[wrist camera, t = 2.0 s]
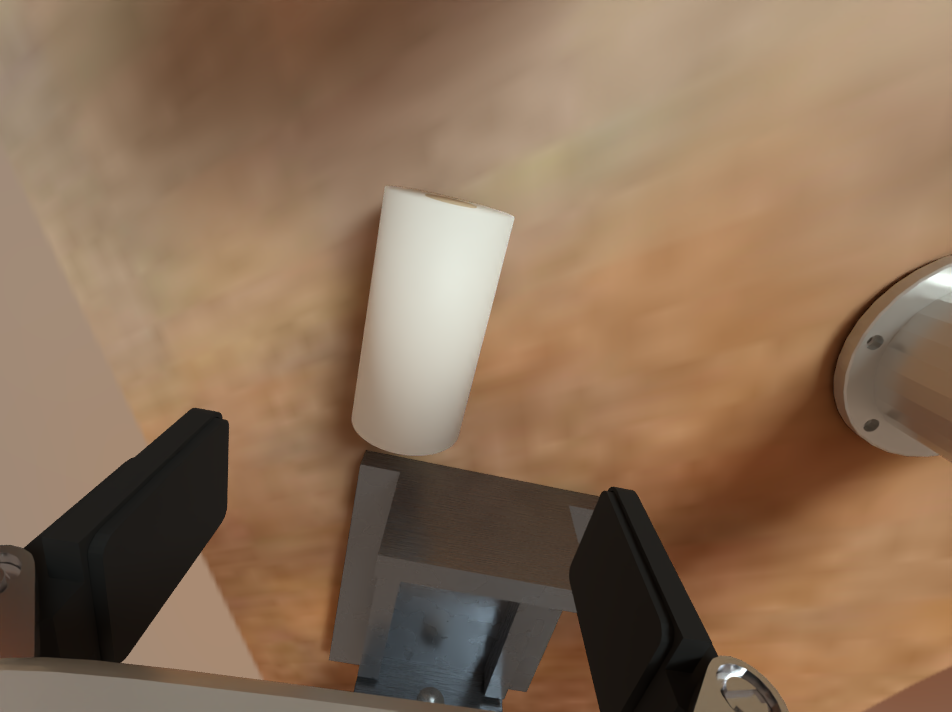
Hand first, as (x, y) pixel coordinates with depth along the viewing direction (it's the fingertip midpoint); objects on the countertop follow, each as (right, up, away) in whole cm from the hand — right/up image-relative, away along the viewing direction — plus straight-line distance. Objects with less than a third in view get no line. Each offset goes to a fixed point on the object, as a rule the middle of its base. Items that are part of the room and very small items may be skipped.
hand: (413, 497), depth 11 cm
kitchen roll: (-1, +5, +12) cm, 13 cm away
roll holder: (0, -13, +22) cm, 26 cm away
